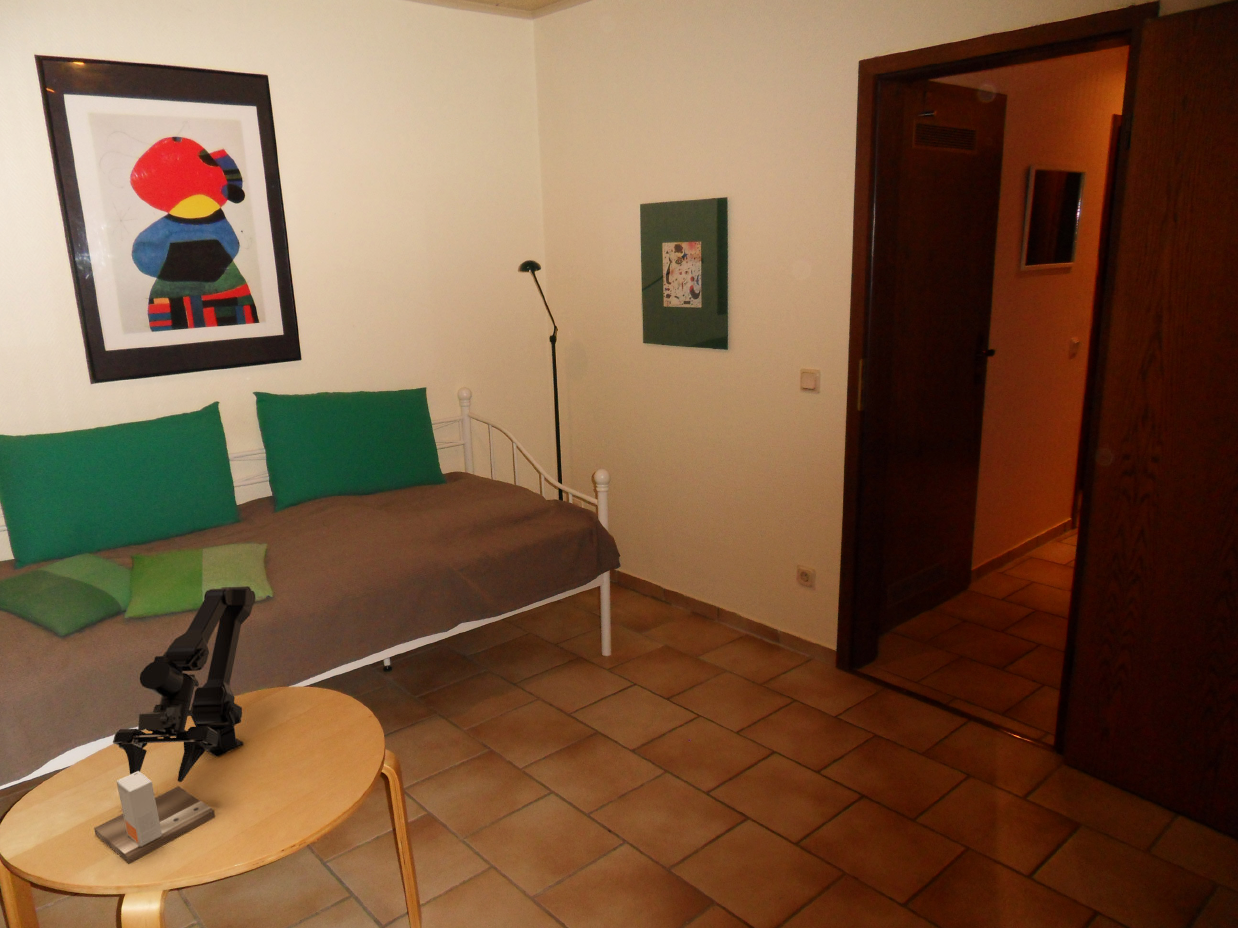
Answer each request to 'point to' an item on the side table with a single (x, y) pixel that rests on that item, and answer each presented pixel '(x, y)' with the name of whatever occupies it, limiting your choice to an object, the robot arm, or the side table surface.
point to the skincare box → (139, 808)
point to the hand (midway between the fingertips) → (156, 782)
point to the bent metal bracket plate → (175, 820)
